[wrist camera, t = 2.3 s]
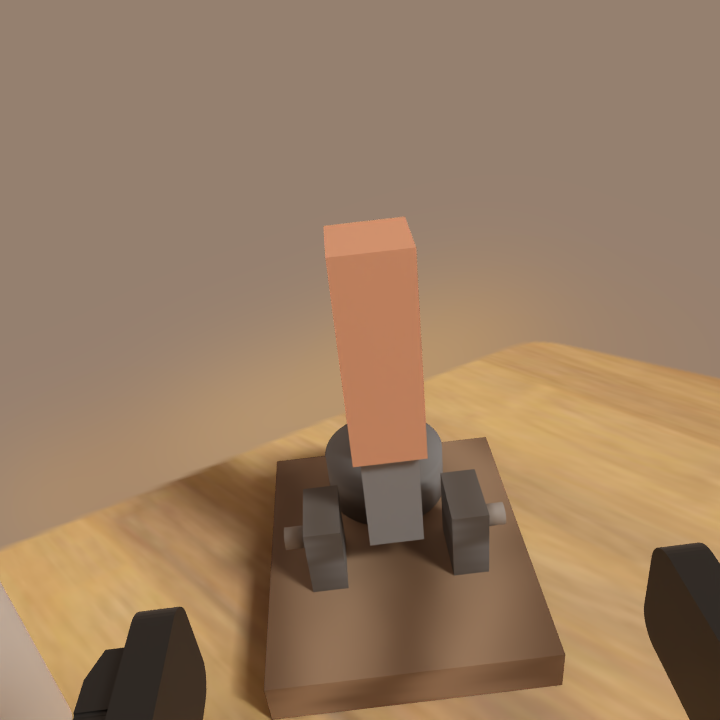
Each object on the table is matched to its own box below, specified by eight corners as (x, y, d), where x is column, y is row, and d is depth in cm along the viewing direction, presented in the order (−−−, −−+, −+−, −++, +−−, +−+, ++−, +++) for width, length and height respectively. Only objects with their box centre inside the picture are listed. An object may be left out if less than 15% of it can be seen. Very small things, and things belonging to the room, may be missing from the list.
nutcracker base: (272, 719, 28) (236, 594, 24) (282, 487, 40) (259, 378, 36) (562, 684, 28) (575, 554, 24) (485, 463, 40) (486, 352, 36)
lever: (364, 554, 30) (325, 257, 22) (359, 506, 32) (323, 225, 25) (432, 547, 30) (416, 247, 22) (422, 499, 32) (404, 216, 25)
